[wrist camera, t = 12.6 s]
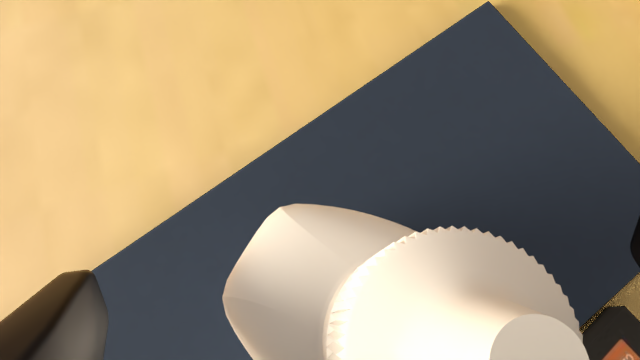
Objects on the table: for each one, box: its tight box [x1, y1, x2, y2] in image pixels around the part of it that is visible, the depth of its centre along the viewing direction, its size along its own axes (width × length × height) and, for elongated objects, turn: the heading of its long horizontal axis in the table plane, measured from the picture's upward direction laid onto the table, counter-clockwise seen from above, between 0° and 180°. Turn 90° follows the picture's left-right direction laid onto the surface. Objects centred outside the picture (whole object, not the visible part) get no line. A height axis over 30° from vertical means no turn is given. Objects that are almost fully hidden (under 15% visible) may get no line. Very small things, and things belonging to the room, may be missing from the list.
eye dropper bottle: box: [222, 204, 589, 360], centre depth 9 cm, size 4×6×12 cm
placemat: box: [91, 1, 640, 360], centre depth 15 cm, size 21×10×1 cm, turn 127°
